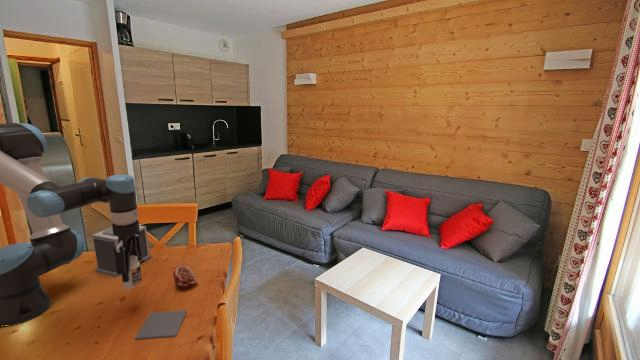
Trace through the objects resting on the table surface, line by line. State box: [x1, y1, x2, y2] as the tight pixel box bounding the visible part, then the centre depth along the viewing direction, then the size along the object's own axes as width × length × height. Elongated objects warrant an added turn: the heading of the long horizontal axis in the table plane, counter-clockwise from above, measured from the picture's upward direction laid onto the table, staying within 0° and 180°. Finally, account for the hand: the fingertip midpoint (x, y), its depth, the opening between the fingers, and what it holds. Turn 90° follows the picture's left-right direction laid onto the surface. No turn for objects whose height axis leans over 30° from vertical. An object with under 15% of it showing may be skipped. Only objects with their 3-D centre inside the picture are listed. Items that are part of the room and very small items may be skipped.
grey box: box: [92, 224, 153, 278], centre depth 136 cm, size 18×13×18 cm
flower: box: [172, 264, 198, 289], centre depth 122 cm, size 10×9×8 cm
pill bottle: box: [129, 255, 143, 288], centre depth 105 cm, size 6×6×10 cm
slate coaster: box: [134, 309, 188, 341], centre depth 100 cm, size 12×12×1 cm
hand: (132, 283), depth 106 cm, fingers closed on pill bottle, 6 cm apart
